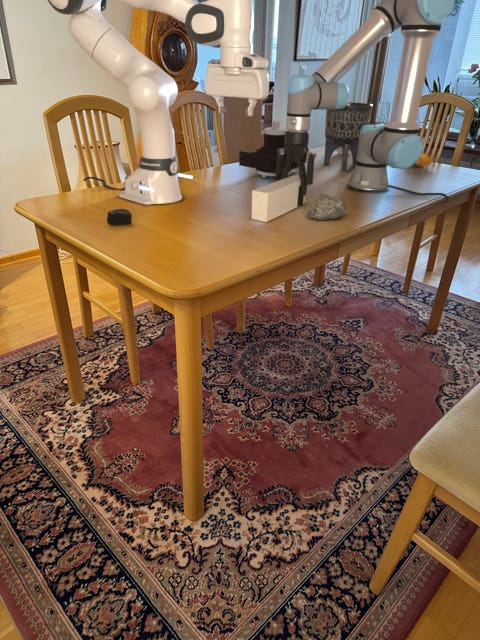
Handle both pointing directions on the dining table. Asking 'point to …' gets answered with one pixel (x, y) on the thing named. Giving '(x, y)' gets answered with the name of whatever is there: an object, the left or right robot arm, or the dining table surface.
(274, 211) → the bar
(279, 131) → the mechanical component
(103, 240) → the dining table surface
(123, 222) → the tape measure
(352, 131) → the planter
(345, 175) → the dining table surface
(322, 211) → the rock
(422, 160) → the toy
